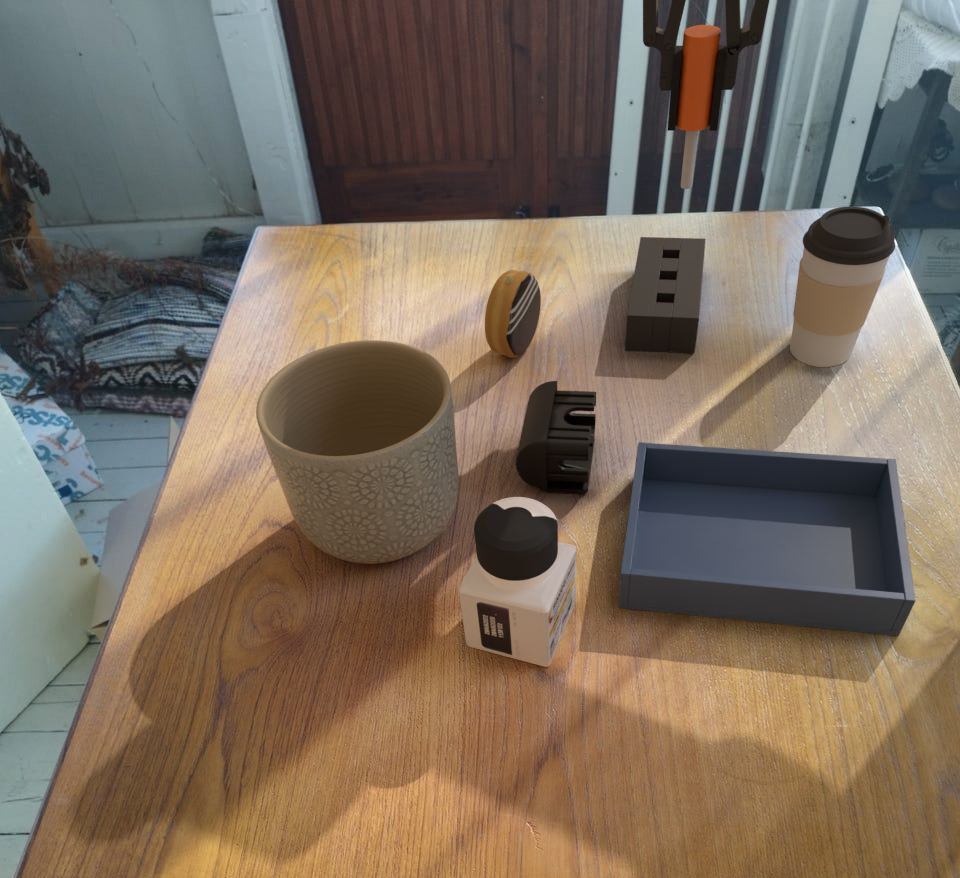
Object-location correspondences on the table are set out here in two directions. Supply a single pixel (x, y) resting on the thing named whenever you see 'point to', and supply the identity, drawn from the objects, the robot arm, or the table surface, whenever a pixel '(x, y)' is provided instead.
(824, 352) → the coffee cup
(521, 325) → the doughnut
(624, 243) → the table surface
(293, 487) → the planter
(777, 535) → the bin
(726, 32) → the robot arm
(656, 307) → the holder
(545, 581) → the container
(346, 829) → the table surface
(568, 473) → the end cap
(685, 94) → the screwdriver
